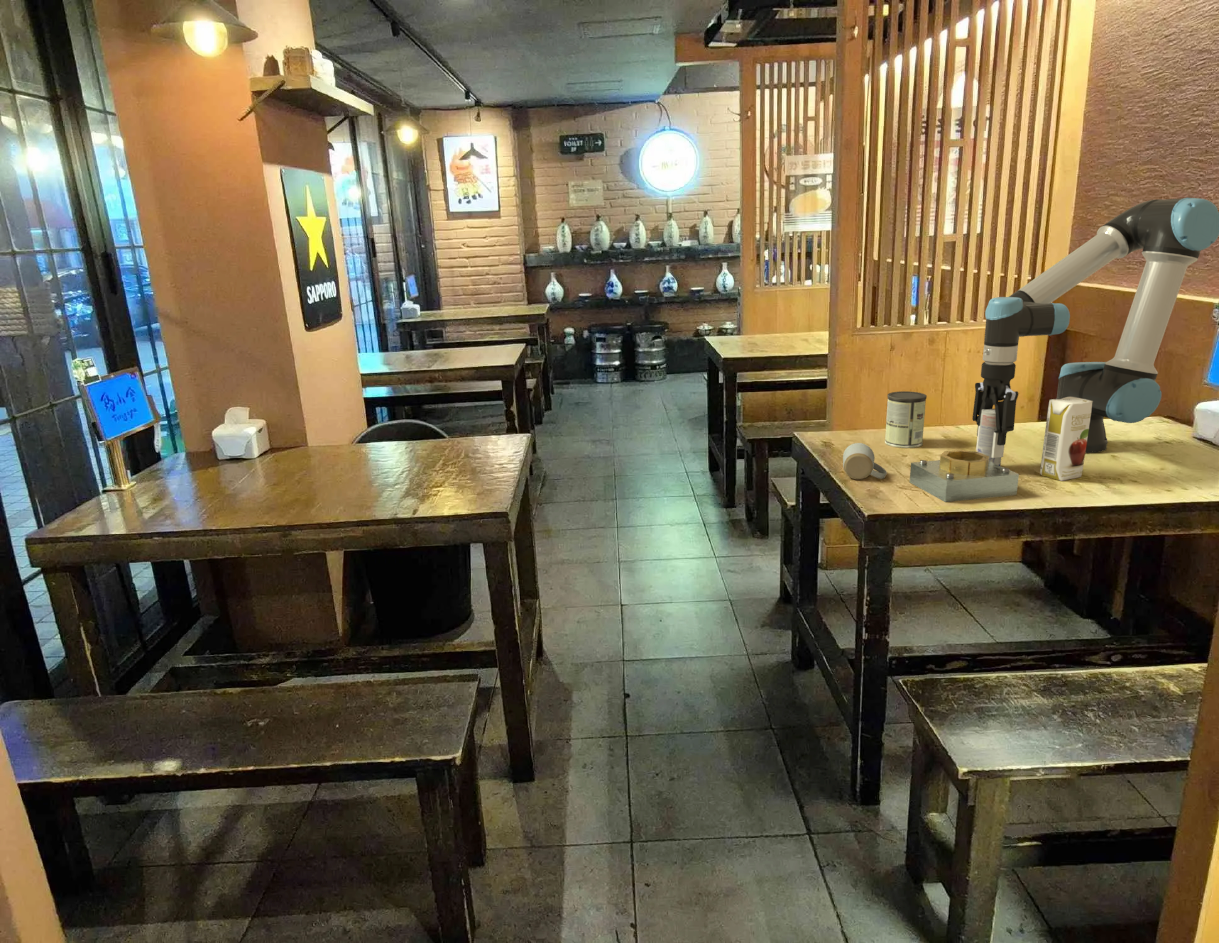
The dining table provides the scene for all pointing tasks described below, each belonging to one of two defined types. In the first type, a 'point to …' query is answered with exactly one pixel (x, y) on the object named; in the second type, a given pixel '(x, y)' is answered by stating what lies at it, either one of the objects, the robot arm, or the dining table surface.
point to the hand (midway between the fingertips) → (989, 453)
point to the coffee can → (905, 419)
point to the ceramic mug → (861, 462)
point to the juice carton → (1065, 438)
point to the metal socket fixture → (963, 477)
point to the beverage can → (987, 434)
